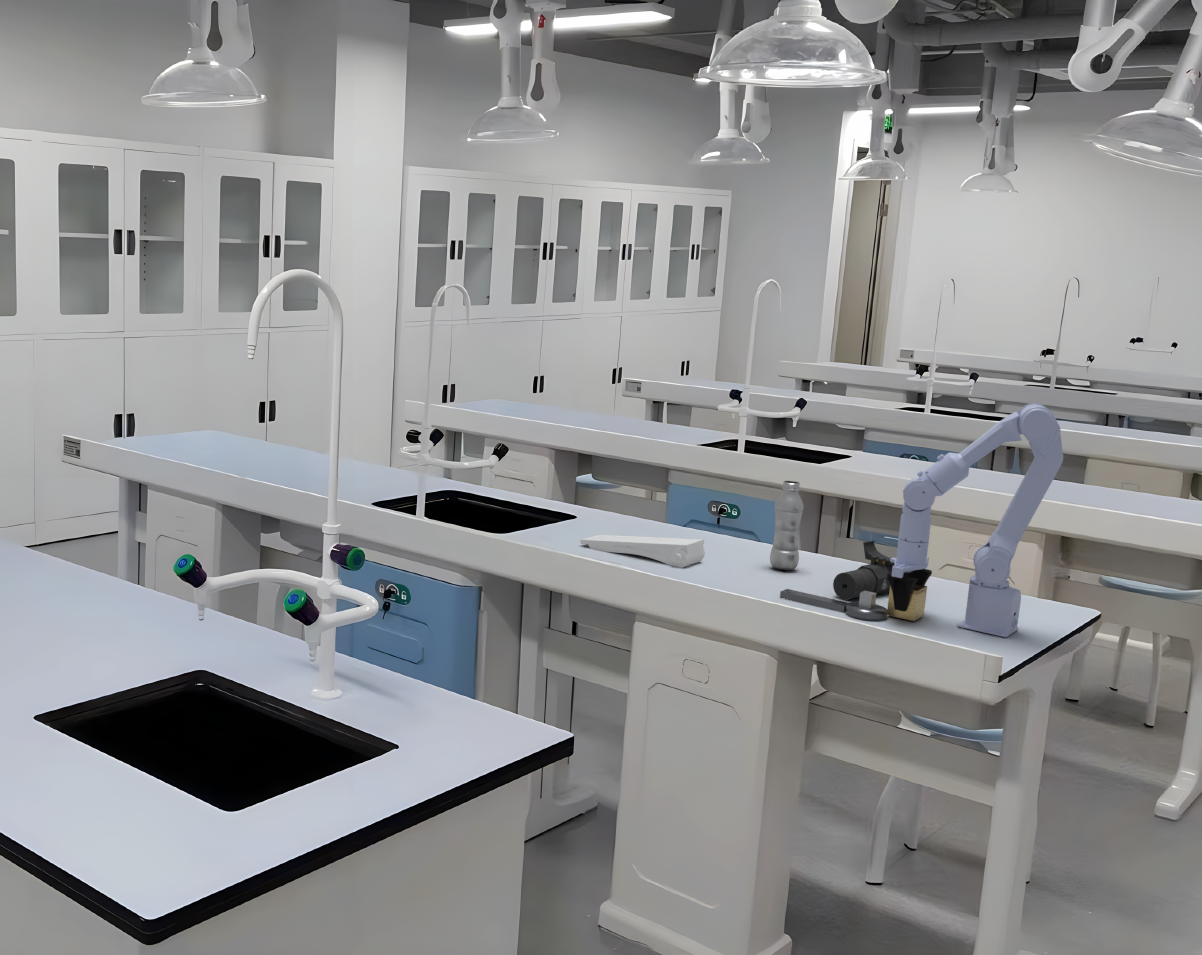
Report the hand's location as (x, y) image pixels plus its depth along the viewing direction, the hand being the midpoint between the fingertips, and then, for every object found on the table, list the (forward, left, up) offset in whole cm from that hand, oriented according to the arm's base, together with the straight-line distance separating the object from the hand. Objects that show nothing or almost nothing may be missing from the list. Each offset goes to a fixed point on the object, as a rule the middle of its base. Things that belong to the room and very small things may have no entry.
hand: (906, 607), depth 229 cm
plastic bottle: (+35, -17, -2) cm, 39 cm away
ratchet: (+13, +5, -2) cm, 14 cm away
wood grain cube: (0, 0, -2) cm, 2 cm away
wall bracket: (+64, -3, -3) cm, 64 cm away
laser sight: (+12, -14, -2) cm, 19 cm away
